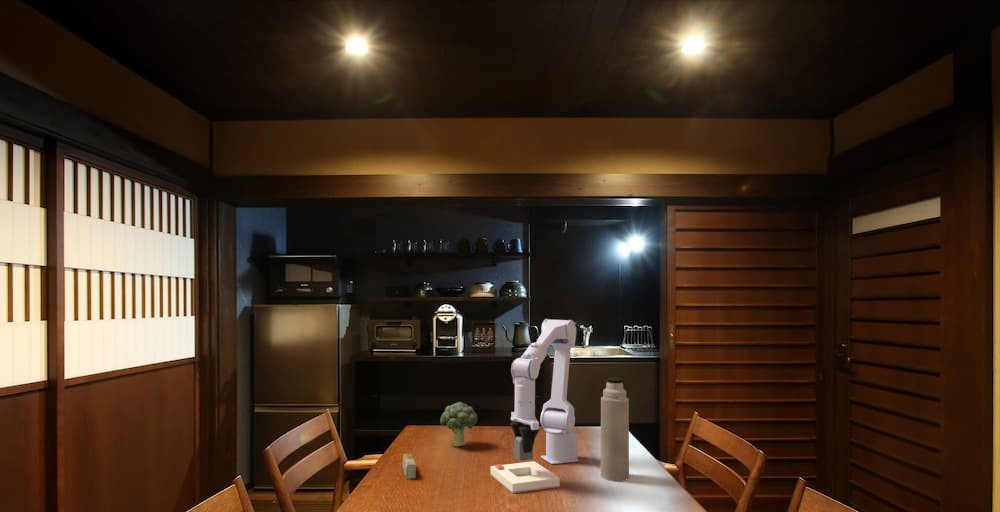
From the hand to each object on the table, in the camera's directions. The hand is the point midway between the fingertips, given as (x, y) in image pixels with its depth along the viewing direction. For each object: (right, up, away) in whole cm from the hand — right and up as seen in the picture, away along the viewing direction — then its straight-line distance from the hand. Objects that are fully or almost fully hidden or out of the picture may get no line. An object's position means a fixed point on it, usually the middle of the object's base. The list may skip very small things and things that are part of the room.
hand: (524, 450), depth 159 cm
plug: (0, -2, 0) cm, 2 cm away
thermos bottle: (+26, -9, +4) cm, 28 cm away
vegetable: (-21, -11, +34) cm, 41 cm away
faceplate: (0, -8, -1) cm, 8 cm away
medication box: (-33, -9, +5) cm, 35 cm away
